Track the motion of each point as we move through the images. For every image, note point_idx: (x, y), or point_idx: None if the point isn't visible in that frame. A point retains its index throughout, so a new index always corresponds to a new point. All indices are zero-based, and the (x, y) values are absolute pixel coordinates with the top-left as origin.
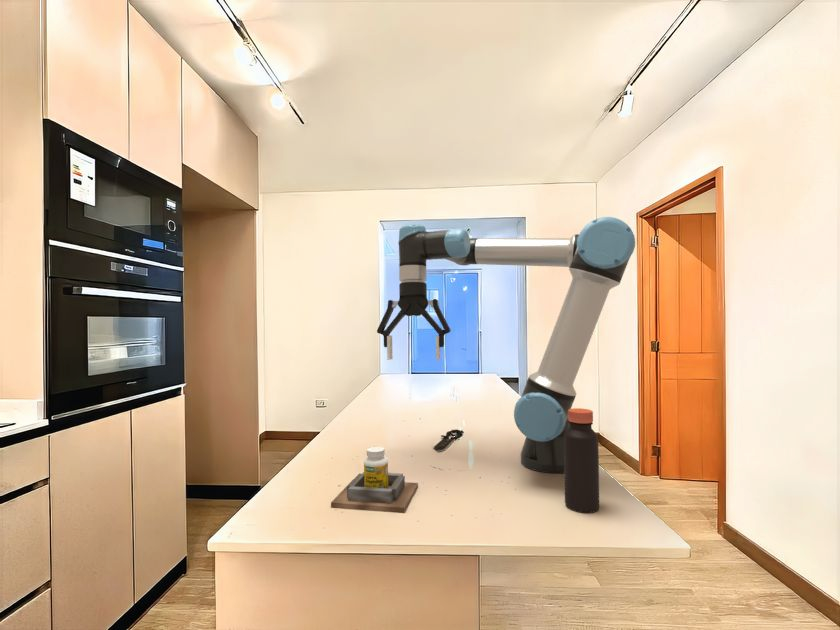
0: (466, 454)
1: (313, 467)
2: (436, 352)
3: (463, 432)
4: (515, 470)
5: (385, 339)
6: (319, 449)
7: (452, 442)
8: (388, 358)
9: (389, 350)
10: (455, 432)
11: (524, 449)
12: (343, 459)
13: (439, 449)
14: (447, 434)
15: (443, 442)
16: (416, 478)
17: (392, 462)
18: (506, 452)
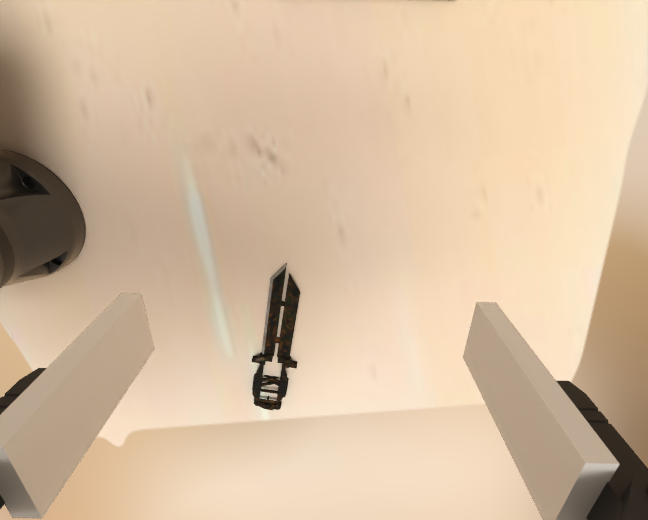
0: (216, 258)
1: (580, 113)
2: (110, 323)
3: (254, 401)
4: (82, 160)
5: (606, 444)
6: (580, 254)
7: (264, 333)
8: (490, 307)
9: (508, 343)
10: (268, 390)
11: (45, 210)
12: (508, 186)
13: (282, 277)
14: (283, 374)
15: (283, 326)
16: (299, 65)
17: (380, 179)
18: (131, 281)
